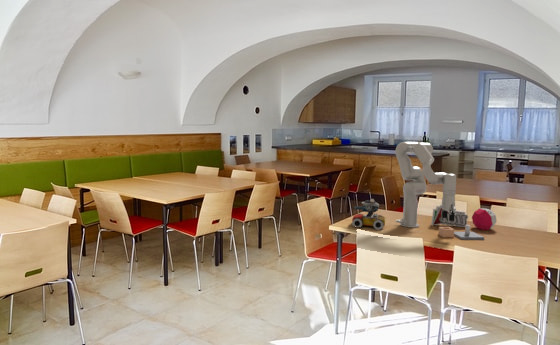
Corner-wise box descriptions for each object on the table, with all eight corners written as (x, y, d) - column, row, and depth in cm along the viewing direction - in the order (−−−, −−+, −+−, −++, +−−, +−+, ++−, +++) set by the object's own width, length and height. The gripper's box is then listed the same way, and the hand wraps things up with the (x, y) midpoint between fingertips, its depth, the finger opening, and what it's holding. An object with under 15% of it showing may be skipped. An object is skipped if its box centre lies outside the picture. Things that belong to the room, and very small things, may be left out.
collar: (443, 237, 274) (443, 229, 273) (438, 234, 281) (439, 226, 280) (453, 237, 274) (454, 229, 274) (448, 234, 281) (449, 227, 281)
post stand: (461, 239, 269) (461, 227, 268) (450, 233, 283) (451, 222, 282) (484, 239, 270) (484, 227, 269) (472, 234, 284) (473, 222, 283)
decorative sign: (464, 229, 307) (468, 208, 305) (465, 230, 304) (469, 209, 302) (430, 224, 309) (434, 203, 307) (431, 225, 306) (435, 204, 304)
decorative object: (468, 207, 300) (486, 202, 304) (466, 225, 307) (483, 219, 310) (484, 218, 287) (502, 212, 291) (481, 236, 294) (499, 230, 298)
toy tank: (354, 222, 312) (355, 195, 310) (385, 224, 306) (386, 197, 304) (351, 227, 295) (352, 199, 292) (384, 230, 289) (385, 201, 287)
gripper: (437, 191, 283) (436, 216, 284) (449, 194, 265) (448, 222, 267) (448, 191, 283) (447, 216, 284) (461, 194, 266) (460, 221, 267)
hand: (448, 219), depth 276 cm, fingers open, 9 cm apart
